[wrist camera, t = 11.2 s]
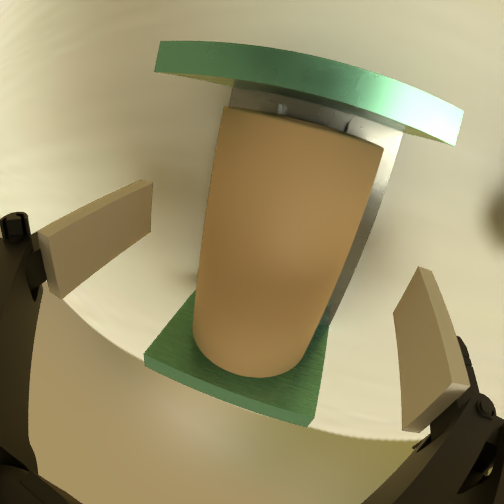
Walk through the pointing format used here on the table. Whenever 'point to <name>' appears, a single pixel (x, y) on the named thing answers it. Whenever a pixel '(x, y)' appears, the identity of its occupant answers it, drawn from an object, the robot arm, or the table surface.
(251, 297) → the cylinder
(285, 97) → the holder
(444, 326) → the robot arm
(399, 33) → the table surface
